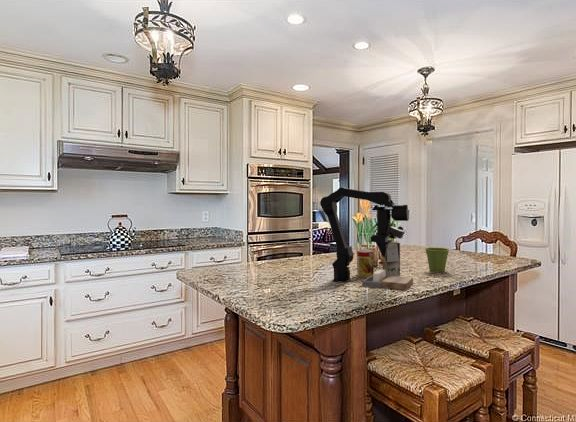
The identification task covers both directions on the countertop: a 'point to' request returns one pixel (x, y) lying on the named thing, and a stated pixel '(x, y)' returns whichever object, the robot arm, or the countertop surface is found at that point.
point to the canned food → (365, 263)
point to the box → (371, 282)
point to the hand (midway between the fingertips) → (384, 256)
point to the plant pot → (437, 258)
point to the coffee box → (392, 259)
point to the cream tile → (379, 276)
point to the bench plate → (397, 282)
